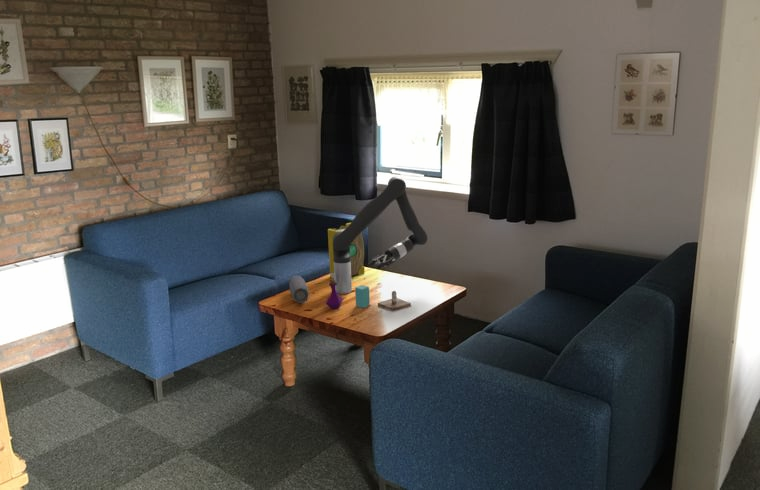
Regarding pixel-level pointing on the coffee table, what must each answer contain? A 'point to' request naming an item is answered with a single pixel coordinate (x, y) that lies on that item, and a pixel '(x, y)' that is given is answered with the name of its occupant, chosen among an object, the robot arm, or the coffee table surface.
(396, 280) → the coffee table surface
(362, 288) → the tall teal pillar
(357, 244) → the decorative book
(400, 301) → the walnut base plate
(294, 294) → the bluetooth speaker
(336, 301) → the purple potion bottle
